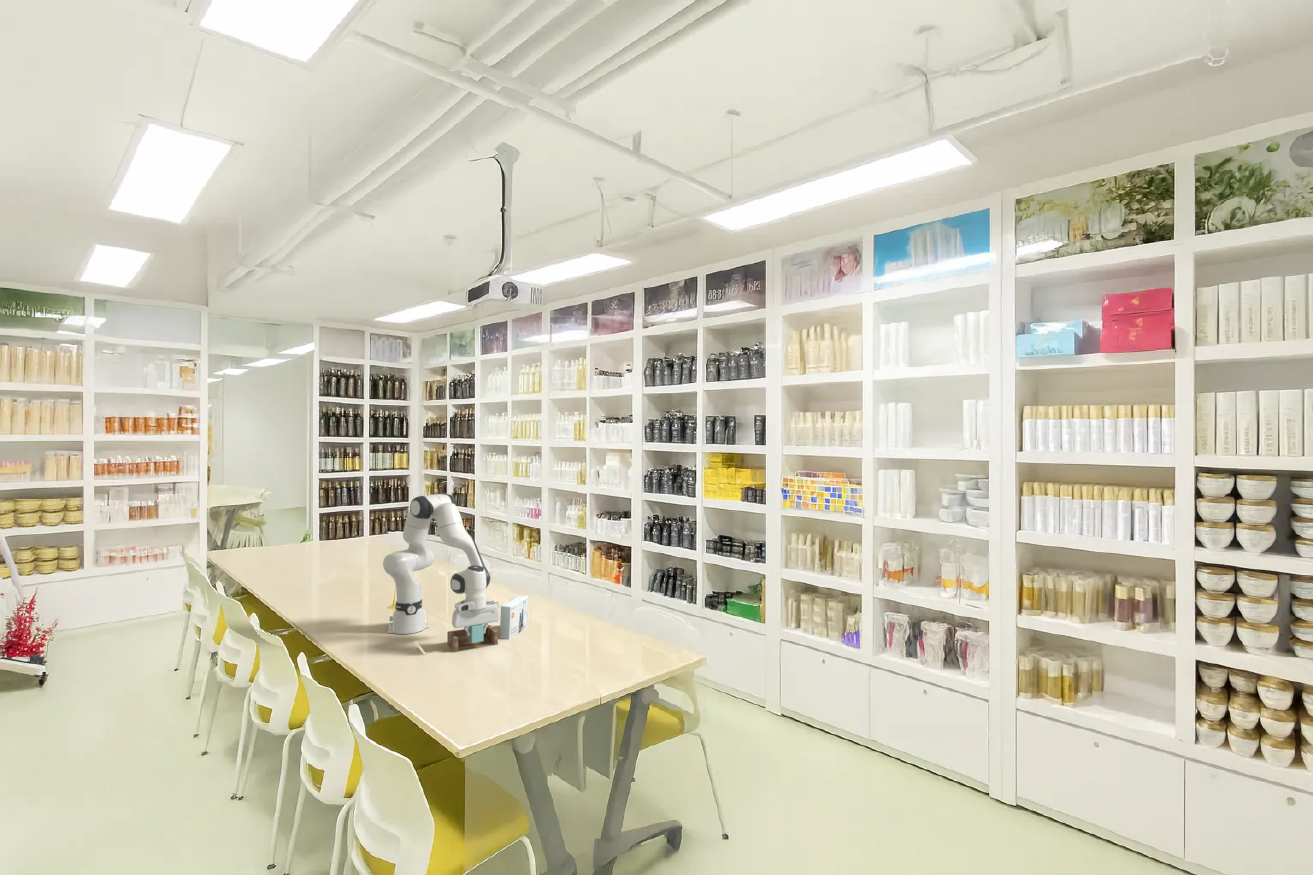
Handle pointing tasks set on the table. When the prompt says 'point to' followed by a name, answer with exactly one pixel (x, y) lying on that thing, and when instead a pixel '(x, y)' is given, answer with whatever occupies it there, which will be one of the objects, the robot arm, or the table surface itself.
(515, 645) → the table surface
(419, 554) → the robot arm
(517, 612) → the skincare box
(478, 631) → the teal block
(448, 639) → the open-fronted box
